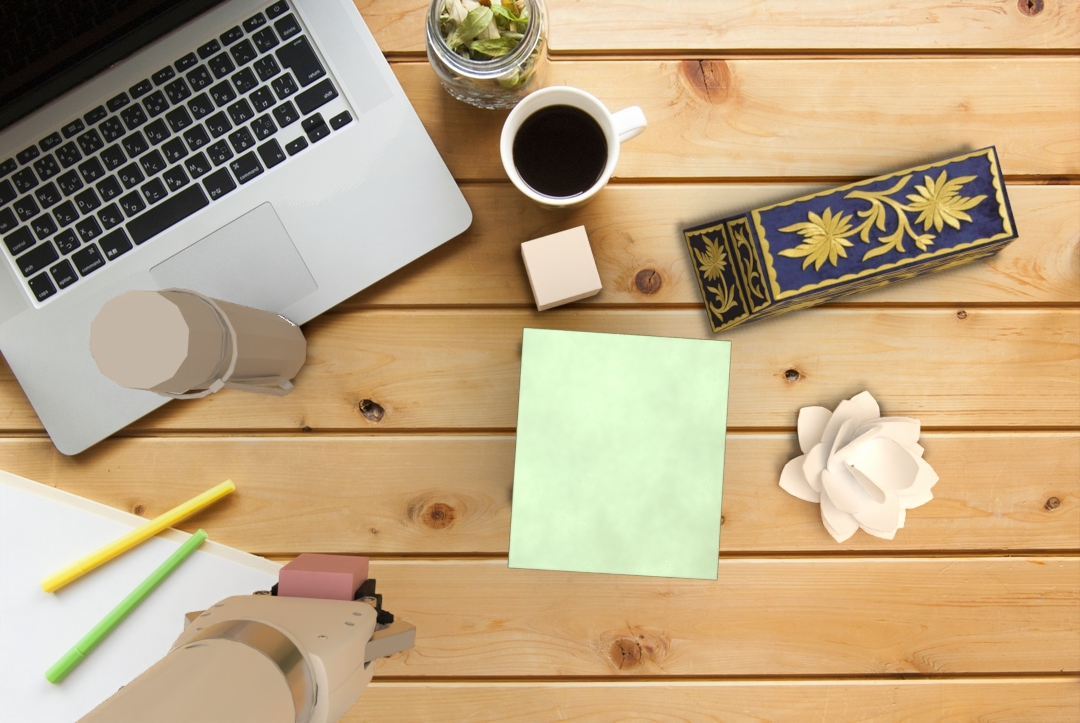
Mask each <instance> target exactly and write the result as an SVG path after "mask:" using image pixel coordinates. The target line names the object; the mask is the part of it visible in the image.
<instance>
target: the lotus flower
mask: <svg viewBox="0 0 1080 723" xmlns="http://www.w3.org/2000/svg"><path fill="white" fill-rule="evenodd" d="M880 412H881V411H880V406H879V404H878V403H877V400H876V399H875V398H874V397H873V396H872V394H871V393H870V392H869V391H868V390H863V391H861V392H860V393H857V394H855V395H854V396H852V397H851V398H849V399H842V400H841V401H840V402H839V404H838V405H837V406H836V408H834V411H833V412H832V411H831V410H829V409H828V408H826V407H824V406H817V405H816V406H815V405H811V406H805V407H801V408H800V409H799V413H798V418H797V438H798V443H799V447H800V450H801V452H802V453H803V454H801V455H799V456H796V457H794V458H792V459H790V460H789V461H788V462H787V463H785V464H784V467H783V468H782V471H781V473H780V477H779V481H778V486H779V487H780V488H781V489H783V491H785V492H786V493H788V494H789V495H791V496H793V497H796V498H798V499H801V500H804V501H807V502H810V503H815V504H818V503H820V504H819V505H820V516H821V520H822V524H823V527H824V528H825V530H826V531H827V532H828V534H829V536H831V537H832V538H833V539H834V540H835V541H836V542H837V543H838V544H840V543H843V542H845V541H847V540H848V539H850V538H851V537H852V536H853V535H854V534H855V533H857V531H858V529H859V528H860V529H861V530H863V531H864V532H865V533H866V534H868V535H871V536H873V537H876V538H879V539H883V540H884V539H885V540H889V541H892V540H894V537H895V535H896V533H897V531H898V529H904V527H905V522H906V515H907V514H906V509H909V510H910V509H912V510H913V509H915V508H917V507H920V506H923V505H925V504H926V503H928V502H930V501H931V500H933V499H934V495H933V492H932V490H931V489H932V488H933V487H934V486H935V485H936V484H937V483H938V482H939V481H940V477H939V475H938V474H937V472H936V471H935V470H934V468H933V467H932V465H931V464H930V463H928V462H927V461H926V460H925V459H924V458H923V457H922V456H923V454H924V451H925V448H924V447H923V446H921V445H920V444H919V443H918V441H920V436H921V422H922V421H921V420H920V419H918V418H915V417H910V416H906V415H905V416H904V415H903V416H902V415H901V416H900V415H897V416H896V415H893V416H881V413H880Z"/></svg>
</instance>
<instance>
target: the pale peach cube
mask: <svg viewBox="0 0 1080 723" xmlns="http://www.w3.org/2000/svg"><path fill="white" fill-rule="evenodd" d="M520 248H521V257H522V260H523V264H524V266H525V270H526V274H527V277H528V281H529V284H530V287H531V290H532V293H533V298H534V300H535V304H536V308H537V310H538V312H542V311H545V310H549V309H551V308H552V309H553V308H556V307H560V306H563V305H566V304H569V303H573V302H577V301H580V300H582V299H586V298H589V297H593V296H596V295H597V294H599V292H600V291H601V290H602V289H603V285H602V282H601V278H600V275H599V272H598V268H597V265H596V262H595V258H594V255H593V252H592V248H591V244H590V242H589V238H588V234H587V231H586V227H585V225H584V224H583V225H580V226H576V227H573V228H569V229H566V230H562V231H559V232H556V233H552V234H547V235H544V236H542V237H538V238H535V239H531V240H528V241H525V242H521V243H520Z"/></svg>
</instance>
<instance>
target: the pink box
mask: <svg viewBox="0 0 1080 723" xmlns="http://www.w3.org/2000/svg"><path fill="white" fill-rule="evenodd" d="M369 567H370V557H369V556H357V555H344V554H343V555H340V554H325V553H310V552H309V553H308V552H302V553H300V554H299V555H298V556H296V557H295V558H293V559H292V560H291V561H289V562H288V563H287V564H285V565H284V566H282V567H281V568H280V569H279V571H278V573H279V574H278V582H279V583H278V582H277V583H278V596H283V597H300V598H316V599H331V600H345V601H354V596H355V593H356V591H357V590H358V589H359V588H360V587H361V585H362V584H363V583H364V582H365V581H366V580H368V579H369V569H370V568H369Z"/></svg>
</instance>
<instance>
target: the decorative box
mask: <svg viewBox="0 0 1080 723" xmlns="http://www.w3.org/2000/svg"><path fill="white" fill-rule="evenodd" d="M1010 201H1011V200H1010V197H1009V194H1008V189H1007V185H1006V182H1005V178H1004V175H1003V171H1002V166H1001V164H1000V159H999V155H998V152H997V148H996V145H995V144H993V145H988V146H985V147H982V148H978V149H974V150H971V151H967V152H963V153H959V154H956V155H952V156H949V157H944V158H941V159H938V160H937V159H936V160H933V161H930V162H926V163H923V164H918V165H916V166H912V167H908V168H904V169H901V170H897V171H893V172H890V173H886V174H882V175H878V176H875V177H872V178H867V179H863V180H860V181H856V182H852V183H849V184H845V185H842V186H837V187H834V188H831V189H827V190H822V191H819V192H816V193H812V194H808V195H803V196H800V197H797V198H793V199H790V200H786V201H782V202H778V203H774V204H771V205H767V206H764V207H760V208H756V209H753V210H749V211H745V212H742V213H739V214H735V215H732V216H731V215H730V216H728V217H724V218H721V219H717V220H714V221H711V222H706V223H702V224H700V225H696V226H692V227H689V228H685V229H682V232H683V235H684V239H685V244H686V246H687V250H688V253H689V256H690V260H691V263H692V267H693V270H694V274H695V277H696V281H697V283H698V287H699V290H700V294H701V297H702V298H701V299H702V301H703V305H704V308H705V311H706V314H707V318H708V321H709V325H710V328H711V332H712V334H716V333H720V332H723V331H727V330H732V329H734V328H735V329H736V328H739V327H742V326H745V325H750V324H753V323H756V322H760V321H764V320H768V319H771V318H774V317H778V316H782V315H786V314H789V313H793V312H796V311H800V310H804V309H808V308H812V307H815V306H819V305H823V304H826V303H830V302H833V301H837V300H840V299H844V298H849V297H851V296H856V295H859V294H863V293H867V292H870V291H873V290H878V289H882V288H885V287H889V286H891V285H896V284H899V283H904V282H906V281H910V280H915V279H918V278H921V277H926V276H929V275H932V274H936V273H939V272H943V271H946V270H951V269H955V268H957V267H961V266H965V265H969V264H973V263H976V262H980V261H983V260H987V259H991V258H995V257H996V256H997V255H998V254H999V253H1000V252H1002V251H1004V250H1005V249H1006V248H1007V247H1008V246H1010V245H1011V244H1012V243H1014V242H1016V240H1017V239H1019V238H1020V236H1019V232H1018V227H1017V224H1016V220H1015V216H1014V213H1013V209H1012V206H1011V202H1010Z"/></svg>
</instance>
